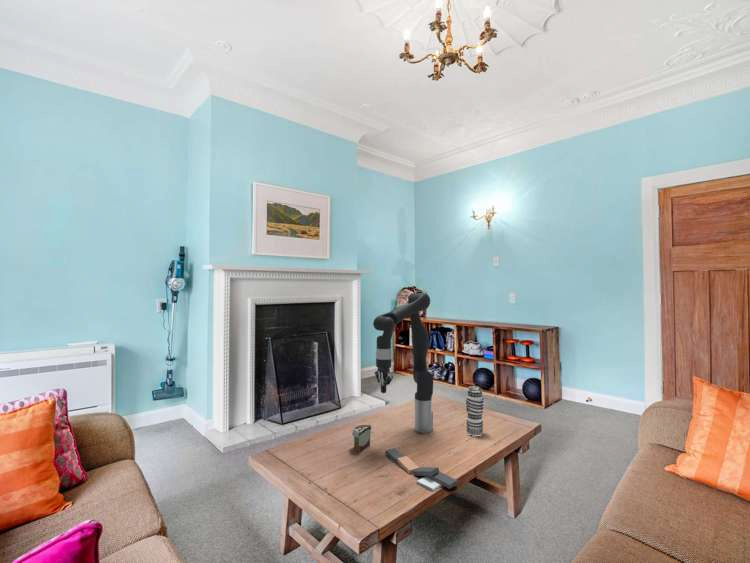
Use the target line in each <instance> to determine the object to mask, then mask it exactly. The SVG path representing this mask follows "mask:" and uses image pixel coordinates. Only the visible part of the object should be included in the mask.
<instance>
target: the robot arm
mask: <svg viewBox="0 0 750 563" xmlns="http://www.w3.org/2000/svg"><path fill="white" fill-rule="evenodd" d="M407 299H408V300H407V303H406V304H403V305H401V306H397V307H395V308H394V309H392V310H391V311H389V312H385V313H383V314H379V315H378V316H376V317H375V318H374V319H373V323H372V326H373V327H374V329H375V330H377V331H380V332H381V331H382V335H379V336H377V337H376V351H375V367H376V368H377V370H376V371H374V375H375V379H376V381H377V384H379V385H380V393H382V394H386V393H387V386H389V385H390V383H391V382H392V380H393V378H394V376H393V375H391V371H390V368H391V367H392V336H393V333H394V330H395V325H397V324H399V323H401V322H402V321H403V320H405V319H407V318H408V317H409V320H410V328H411V329H410V330H411V345H412V346H411V347H412V359H413V367H412V368H413V370H412V371H413V374H412V376H413V377H412V378H413V380H414V383H416V392H415V393H414V431H415V432H416V433H421V434H428V433H431V432H432V431H433V430H434V412H433V411H432V409H433V407H432V406H433V405H432V404H433V402H432V397H433V393H434V377H433V376H434V375H433V374H432V373H431V372H430V371H429V370H428V367H427V355H428V351H429V347H430V342H429V339H430V338H429V332H428V329H427V328H426V326H425V325H424V323H423V321H422V319H421V315H420V312H422V311H424V310H427V309H428V308H429V307H430V304H431V298H430V296H429V295H428V294H427V293H424V292H415V293H414V292H413V293H410V294H409V296H408V298H407Z"/></svg>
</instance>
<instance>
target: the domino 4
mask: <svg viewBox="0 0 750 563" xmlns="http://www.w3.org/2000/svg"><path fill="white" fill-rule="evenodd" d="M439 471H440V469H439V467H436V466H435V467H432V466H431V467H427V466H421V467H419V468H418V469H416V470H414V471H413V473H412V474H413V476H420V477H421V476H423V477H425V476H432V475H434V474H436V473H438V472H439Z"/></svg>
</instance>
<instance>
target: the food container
mask: <svg viewBox="0 0 750 563" xmlns="http://www.w3.org/2000/svg"><path fill="white" fill-rule="evenodd" d="M371 431H372V425H371V424H360V425H356V426H354V427H353V429H352V432H351V433H352V434H351V435H352V436H353V443H354V446H353V447H354V451H355V453H357V454H362V452H364V451H366V450H367V449H368V448H369V447H371V433H372V432H371Z"/></svg>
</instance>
